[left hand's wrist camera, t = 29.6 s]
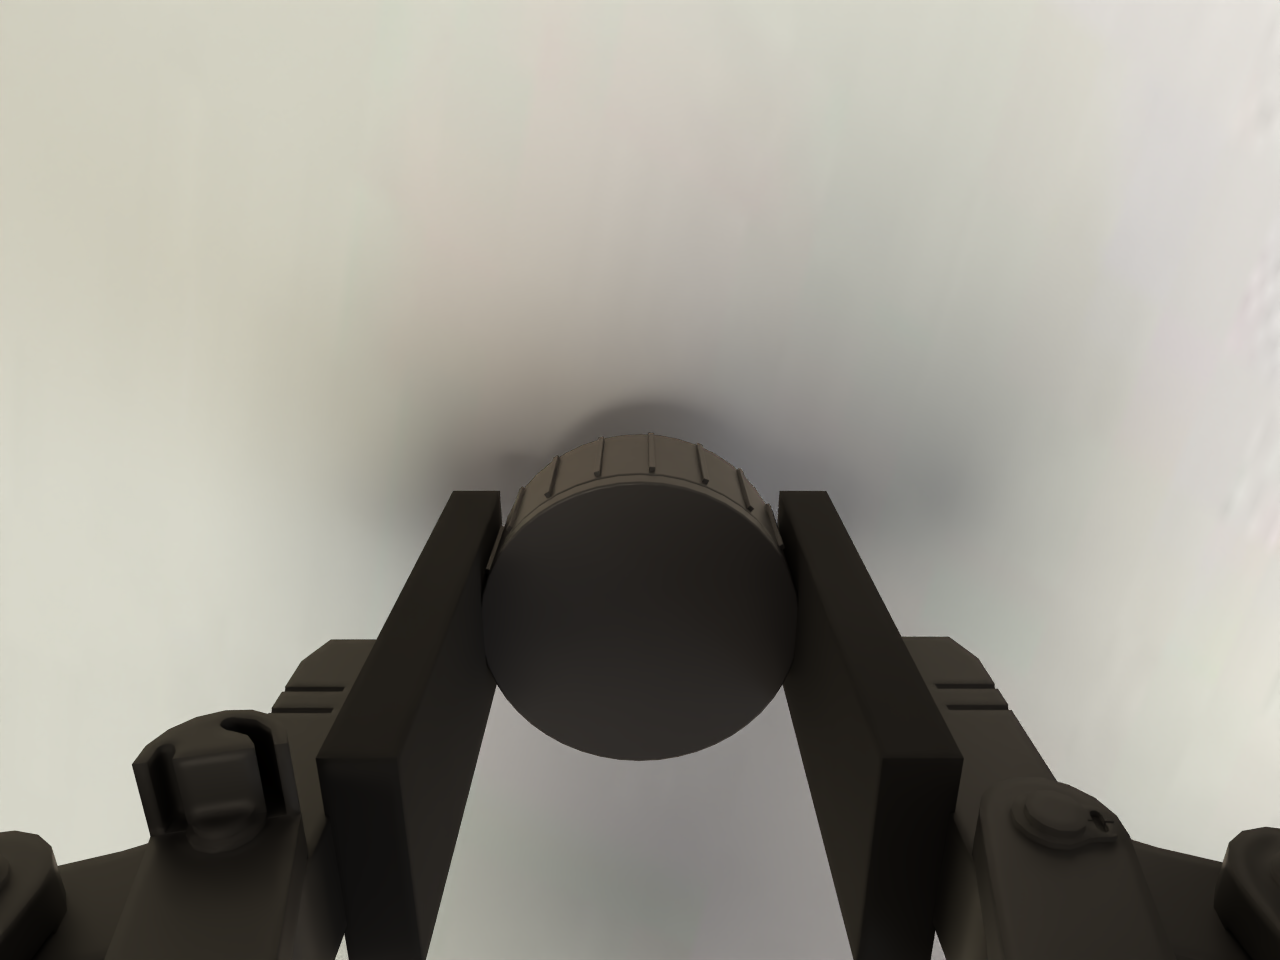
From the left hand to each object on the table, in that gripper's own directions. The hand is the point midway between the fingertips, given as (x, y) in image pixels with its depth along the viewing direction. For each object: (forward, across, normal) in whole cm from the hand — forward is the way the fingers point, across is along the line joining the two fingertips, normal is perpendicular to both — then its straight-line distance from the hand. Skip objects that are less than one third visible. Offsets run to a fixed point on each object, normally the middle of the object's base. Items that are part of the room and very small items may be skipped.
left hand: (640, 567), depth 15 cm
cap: (-2, 0, 0) cm, 2 cm away
